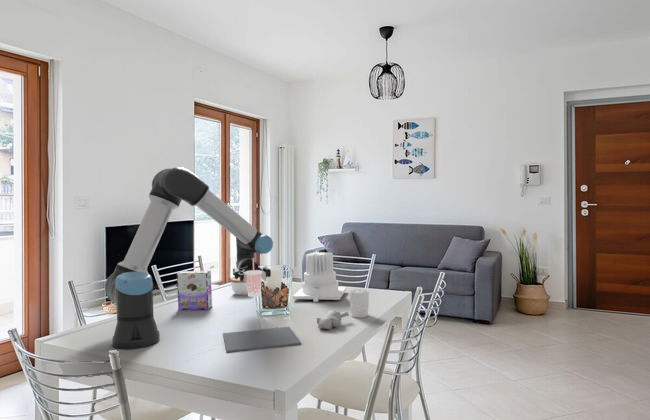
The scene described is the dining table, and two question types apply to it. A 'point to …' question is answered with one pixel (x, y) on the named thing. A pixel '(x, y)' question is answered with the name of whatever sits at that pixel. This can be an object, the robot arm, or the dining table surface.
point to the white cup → (359, 302)
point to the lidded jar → (239, 286)
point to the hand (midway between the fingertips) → (255, 277)
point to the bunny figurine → (330, 319)
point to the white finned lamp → (320, 279)
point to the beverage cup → (254, 282)
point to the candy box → (194, 290)
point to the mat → (260, 339)
